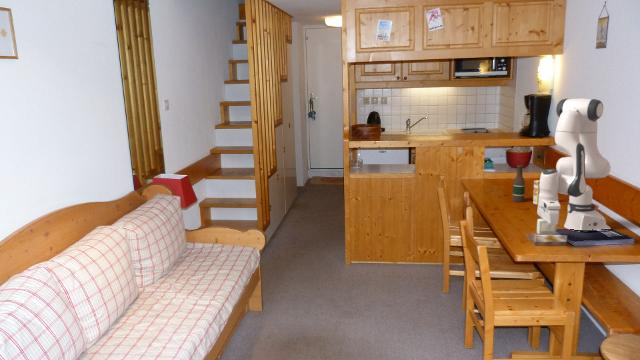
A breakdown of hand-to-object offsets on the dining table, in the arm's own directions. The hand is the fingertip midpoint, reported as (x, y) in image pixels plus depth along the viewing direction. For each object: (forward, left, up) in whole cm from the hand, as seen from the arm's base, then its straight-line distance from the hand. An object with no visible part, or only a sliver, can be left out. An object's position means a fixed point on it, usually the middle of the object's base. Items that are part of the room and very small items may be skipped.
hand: (546, 228), depth 263 cm
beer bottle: (-10, -82, -7) cm, 83 cm away
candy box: (-22, -75, -7) cm, 78 cm away
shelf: (0, 0, -7) cm, 7 cm away
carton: (0, 0, -3) cm, 3 cm away
